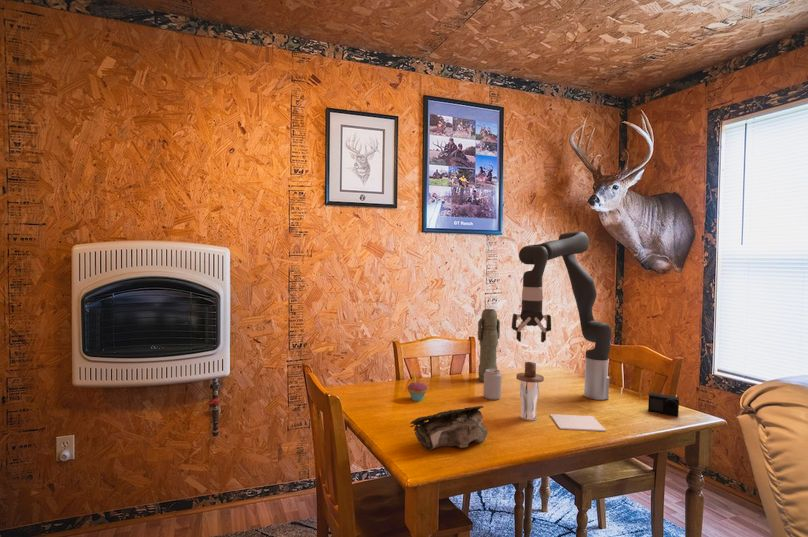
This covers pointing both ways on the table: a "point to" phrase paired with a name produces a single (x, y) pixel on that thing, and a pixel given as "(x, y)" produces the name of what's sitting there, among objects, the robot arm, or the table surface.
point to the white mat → (577, 422)
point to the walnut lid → (530, 374)
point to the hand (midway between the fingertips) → (530, 341)
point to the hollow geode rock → (450, 428)
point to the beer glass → (529, 400)
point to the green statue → (488, 341)
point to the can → (492, 384)
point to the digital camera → (663, 404)
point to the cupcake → (417, 390)
